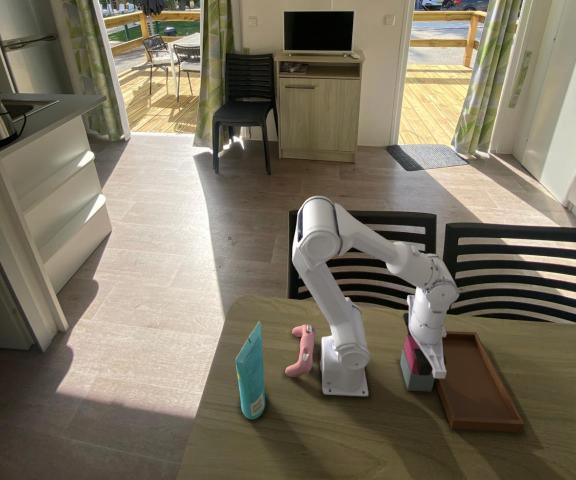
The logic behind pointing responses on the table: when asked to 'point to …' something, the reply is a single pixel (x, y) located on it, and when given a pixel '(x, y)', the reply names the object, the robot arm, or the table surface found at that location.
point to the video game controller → (303, 351)
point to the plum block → (411, 353)
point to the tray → (474, 387)
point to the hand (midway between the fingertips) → (418, 359)
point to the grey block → (415, 377)
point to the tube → (251, 375)
